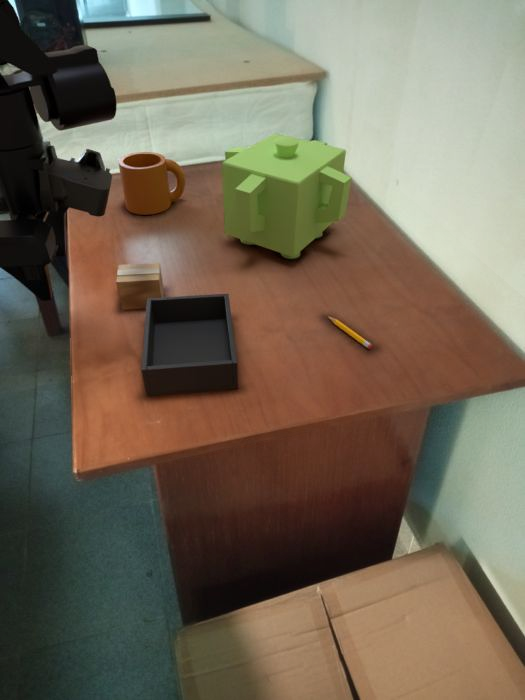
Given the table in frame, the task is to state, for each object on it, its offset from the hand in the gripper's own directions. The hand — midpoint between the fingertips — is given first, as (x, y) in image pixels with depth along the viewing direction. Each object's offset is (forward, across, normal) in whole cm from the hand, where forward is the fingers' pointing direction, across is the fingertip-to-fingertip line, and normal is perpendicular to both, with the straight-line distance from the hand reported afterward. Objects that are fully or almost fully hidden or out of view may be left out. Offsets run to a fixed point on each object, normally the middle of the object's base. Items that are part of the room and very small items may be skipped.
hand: (54, 276), depth 58 cm
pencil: (+12, 0, -37) cm, 39 cm away
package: (+12, +11, -8) cm, 18 cm away
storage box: (+12, +28, -32) cm, 44 cm away
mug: (+12, +43, -9) cm, 46 cm away
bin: (+12, -2, -15) cm, 19 cm away
